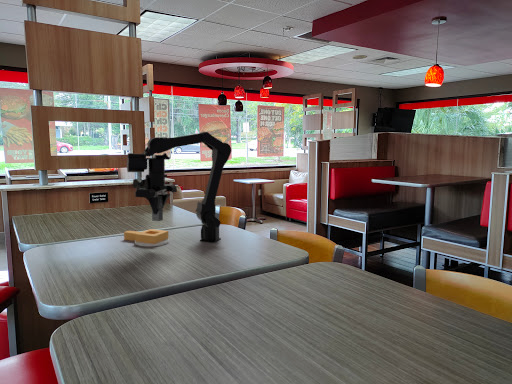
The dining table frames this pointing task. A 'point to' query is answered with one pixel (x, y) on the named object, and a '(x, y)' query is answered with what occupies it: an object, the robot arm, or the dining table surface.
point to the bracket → (148, 237)
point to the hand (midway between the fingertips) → (157, 213)
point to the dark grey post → (160, 212)
